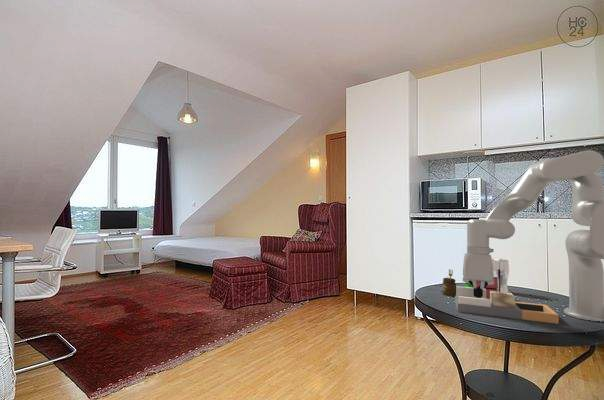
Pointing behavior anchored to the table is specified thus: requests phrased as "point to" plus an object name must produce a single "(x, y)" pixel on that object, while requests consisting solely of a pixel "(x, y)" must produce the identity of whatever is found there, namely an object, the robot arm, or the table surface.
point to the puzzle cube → (487, 287)
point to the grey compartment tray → (484, 307)
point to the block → (502, 299)
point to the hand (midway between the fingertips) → (478, 298)
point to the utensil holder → (449, 285)
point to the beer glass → (501, 273)
